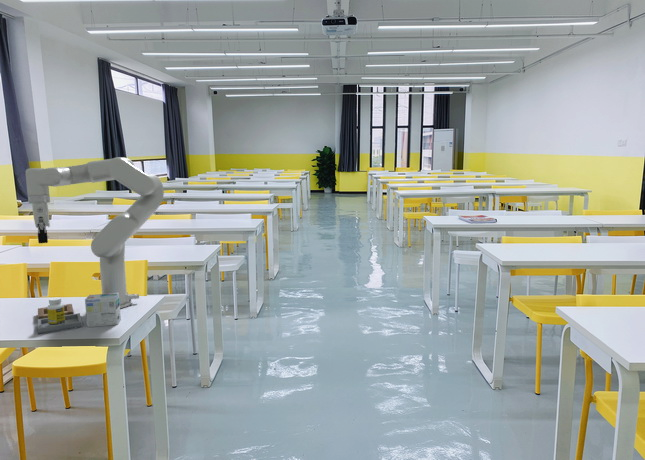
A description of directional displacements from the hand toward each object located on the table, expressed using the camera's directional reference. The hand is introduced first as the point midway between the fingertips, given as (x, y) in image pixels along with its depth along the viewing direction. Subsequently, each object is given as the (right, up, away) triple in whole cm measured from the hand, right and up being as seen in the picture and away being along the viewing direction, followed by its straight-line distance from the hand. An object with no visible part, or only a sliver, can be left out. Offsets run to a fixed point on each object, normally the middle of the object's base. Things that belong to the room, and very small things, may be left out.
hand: (43, 241), depth 194 cm
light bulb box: (+32, -31, -15) cm, 46 cm away
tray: (+16, -31, -17) cm, 39 cm away
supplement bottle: (+15, -31, -17) cm, 38 cm away
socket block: (+8, -29, -6) cm, 31 cm away
